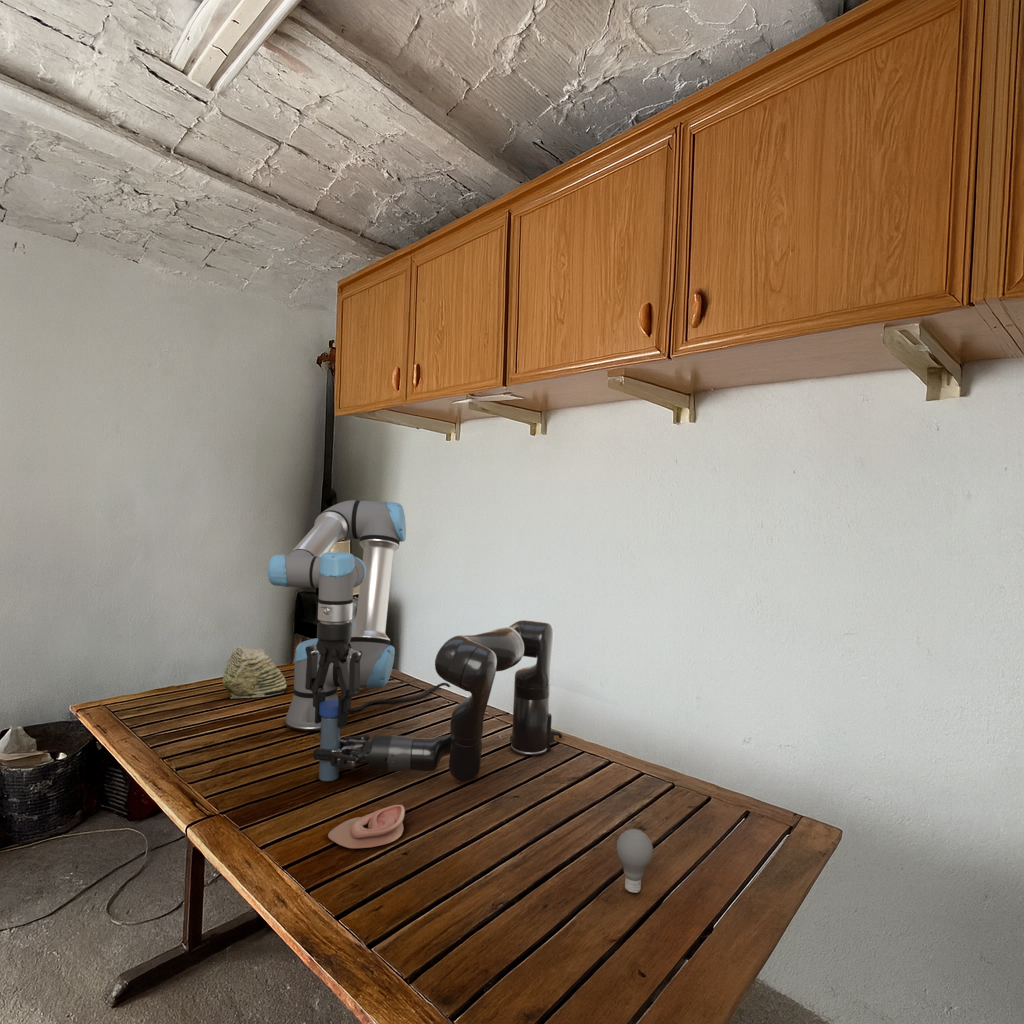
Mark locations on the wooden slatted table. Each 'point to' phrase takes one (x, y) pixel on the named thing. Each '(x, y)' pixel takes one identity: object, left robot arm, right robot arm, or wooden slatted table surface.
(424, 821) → the wooden slatted table surface
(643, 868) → the light bulb
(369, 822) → the anatomical model
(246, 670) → the fossil
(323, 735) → the jar
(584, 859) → the wooden slatted table surface
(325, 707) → the lid
